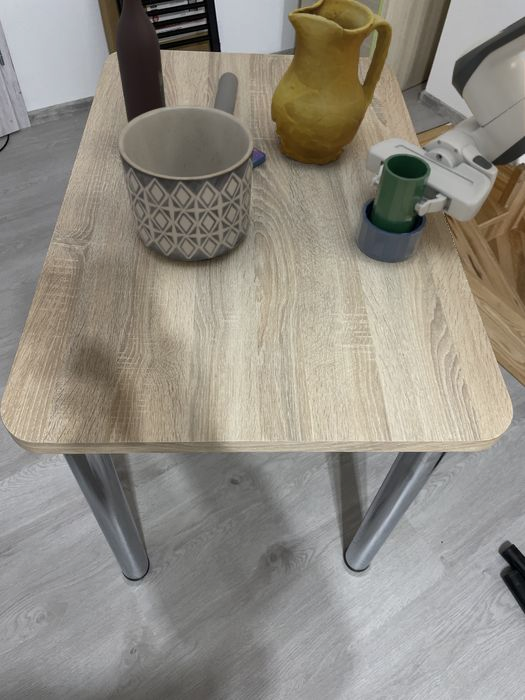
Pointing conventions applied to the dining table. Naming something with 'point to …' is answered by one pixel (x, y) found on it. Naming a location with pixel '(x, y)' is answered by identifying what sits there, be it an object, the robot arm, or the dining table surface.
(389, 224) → the slim cup
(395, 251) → the wide cup
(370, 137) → the dining table surface
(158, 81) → the wine bottle
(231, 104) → the gray half cylinder
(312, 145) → the pitcher
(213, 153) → the planter
